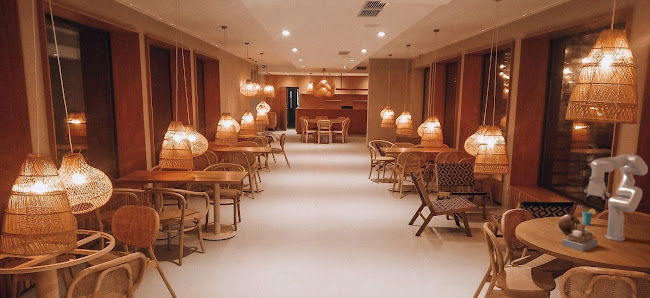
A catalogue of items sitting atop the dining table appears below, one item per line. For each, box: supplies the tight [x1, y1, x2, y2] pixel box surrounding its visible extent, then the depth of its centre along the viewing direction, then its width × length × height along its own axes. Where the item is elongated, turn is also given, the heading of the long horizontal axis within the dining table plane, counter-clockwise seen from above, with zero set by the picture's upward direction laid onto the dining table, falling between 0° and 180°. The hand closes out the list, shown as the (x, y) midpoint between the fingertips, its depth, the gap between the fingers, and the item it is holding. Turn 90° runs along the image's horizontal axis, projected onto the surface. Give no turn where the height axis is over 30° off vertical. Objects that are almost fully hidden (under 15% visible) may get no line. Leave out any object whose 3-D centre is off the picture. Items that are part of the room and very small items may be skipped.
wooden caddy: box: [567, 223, 593, 243], centre depth 298 cm, size 17×8×11 cm, turn 123°
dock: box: [561, 237, 598, 252], centre depth 299 cm, size 20×14×5 cm
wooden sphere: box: [557, 214, 582, 235], centre depth 324 cm, size 15×15×15 cm
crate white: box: [573, 230, 582, 237], centre depth 295 cm, size 4×4×4 cm
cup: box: [576, 205, 597, 226], centre depth 349 cm, size 14×8×15 cm, turn 55°
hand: (595, 203), depth 298 cm, fingers open, 9 cm apart
